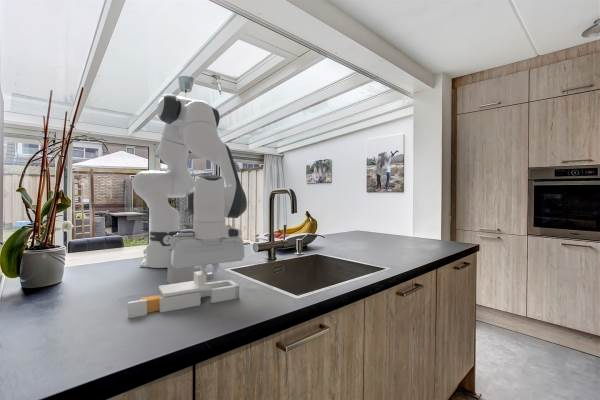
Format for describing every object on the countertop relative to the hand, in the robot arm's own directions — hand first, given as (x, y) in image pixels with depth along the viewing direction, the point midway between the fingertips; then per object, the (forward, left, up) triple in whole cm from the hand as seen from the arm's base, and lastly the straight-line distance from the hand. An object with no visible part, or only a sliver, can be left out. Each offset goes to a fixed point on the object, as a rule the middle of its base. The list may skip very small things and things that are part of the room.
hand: (209, 279), depth 87 cm
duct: (0, -6, -6) cm, 9 cm away
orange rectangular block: (+1, -14, -6) cm, 16 cm away
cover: (0, -7, -2) cm, 7 cm away
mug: (-22, -1, -6) cm, 23 cm away
